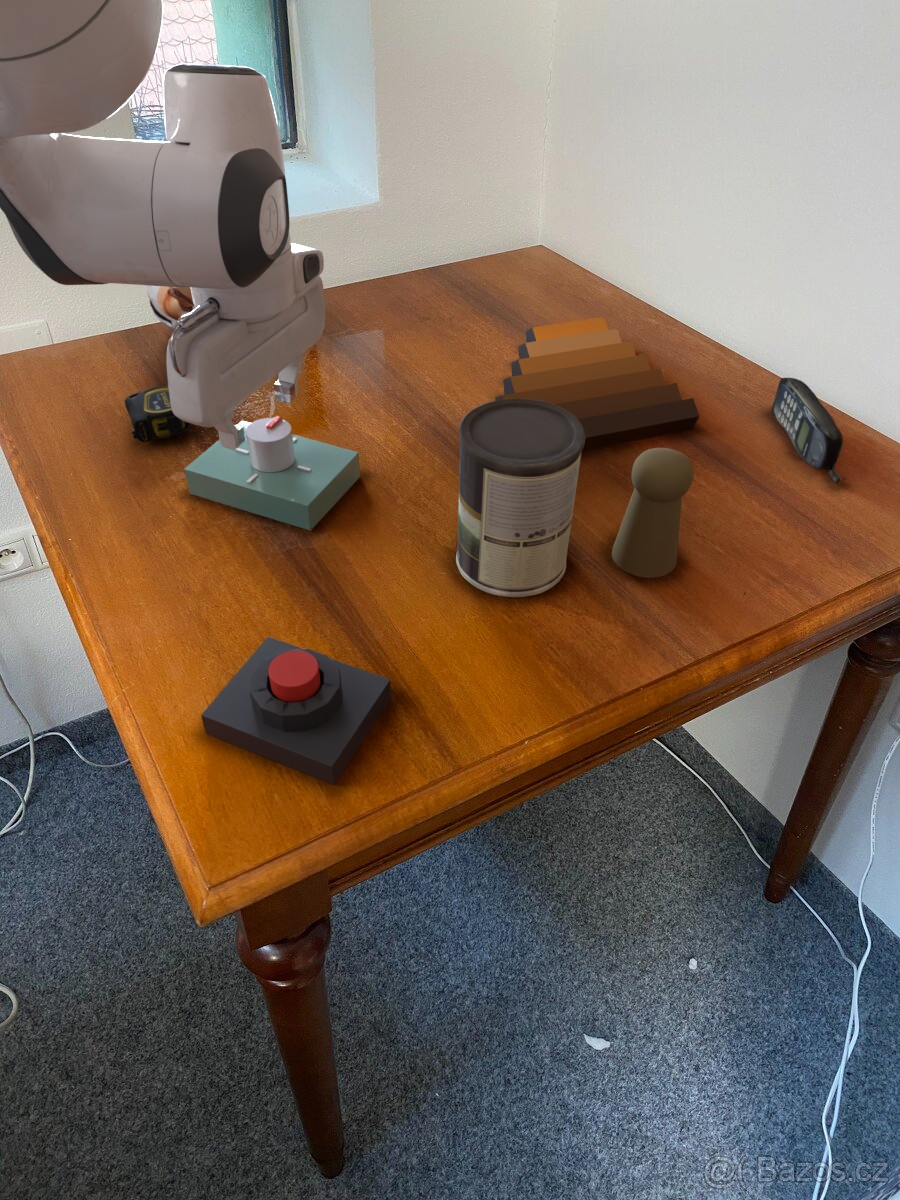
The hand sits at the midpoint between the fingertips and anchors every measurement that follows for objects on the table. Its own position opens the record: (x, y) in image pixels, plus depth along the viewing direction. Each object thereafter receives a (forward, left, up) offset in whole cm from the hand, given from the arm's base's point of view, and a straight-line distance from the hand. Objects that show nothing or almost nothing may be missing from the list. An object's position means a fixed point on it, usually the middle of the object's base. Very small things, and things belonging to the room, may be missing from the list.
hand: (261, 421), depth 84 cm
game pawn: (+38, +5, -8) cm, 39 cm away
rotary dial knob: (+1, 0, -4) cm, 4 cm away
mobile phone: (+49, +31, -8) cm, 58 cm away
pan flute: (+20, +29, -8) cm, 36 cm away
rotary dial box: (+1, 0, -7) cm, 7 cm away
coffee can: (+27, -1, -8) cm, 28 cm away
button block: (+19, -25, -7) cm, 32 cm away
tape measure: (-16, +3, -8) cm, 18 cm away
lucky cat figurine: (-23, +24, -8) cm, 35 cm away
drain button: (+19, -25, -4) cm, 31 cm away
